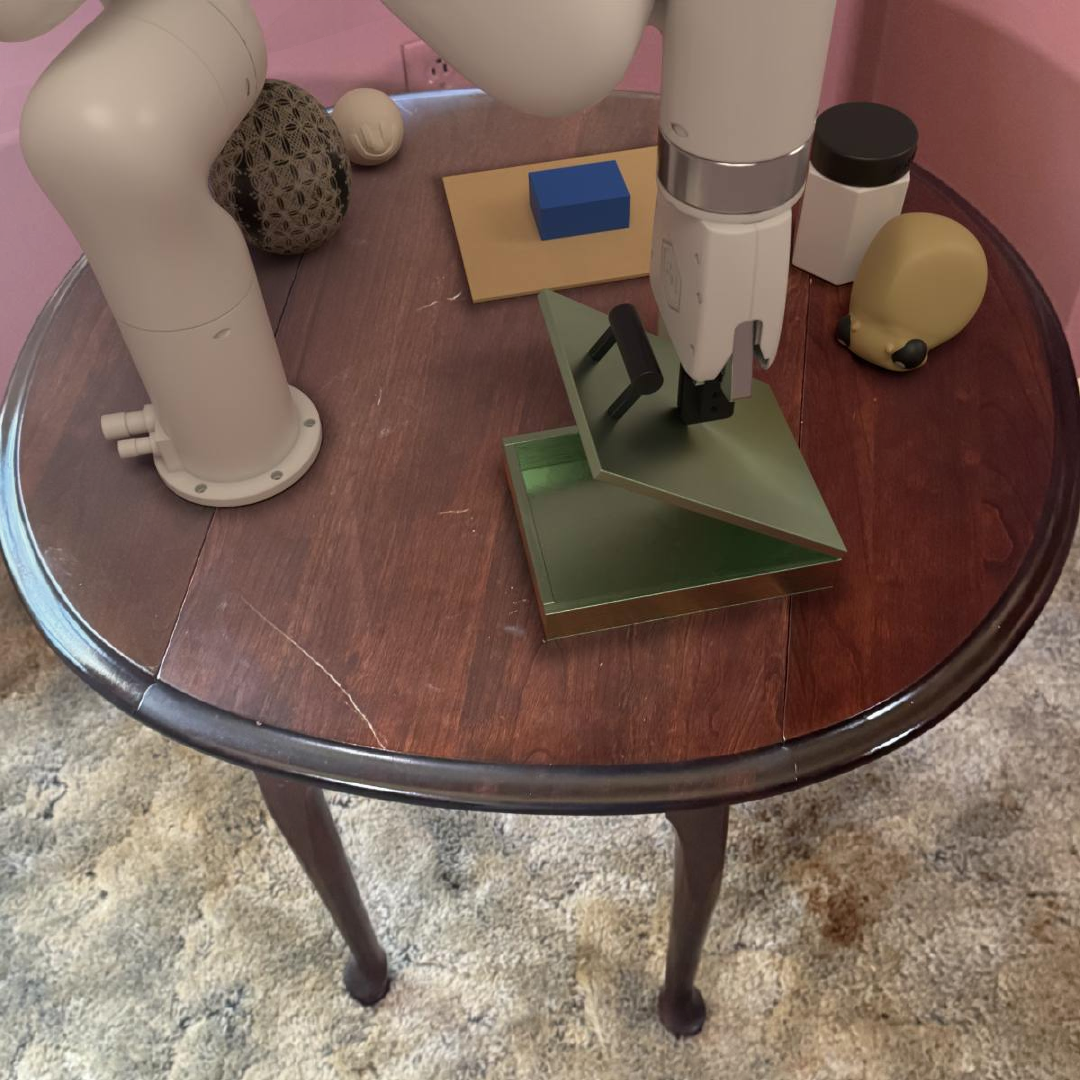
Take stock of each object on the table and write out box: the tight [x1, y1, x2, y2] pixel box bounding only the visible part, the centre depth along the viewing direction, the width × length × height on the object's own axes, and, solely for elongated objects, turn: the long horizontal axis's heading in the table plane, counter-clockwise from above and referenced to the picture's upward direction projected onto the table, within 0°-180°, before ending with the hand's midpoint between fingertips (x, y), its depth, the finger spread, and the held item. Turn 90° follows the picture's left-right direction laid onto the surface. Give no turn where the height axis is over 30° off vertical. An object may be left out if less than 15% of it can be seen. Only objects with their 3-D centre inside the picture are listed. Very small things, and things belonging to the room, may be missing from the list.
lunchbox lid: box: [537, 288, 848, 558], centre depth 69 cm, size 20×16×5 cm
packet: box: [528, 160, 630, 241], centre depth 99 cm, size 8×6×3 cm
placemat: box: [441, 145, 658, 304], centre depth 100 cm, size 22×18×1 cm
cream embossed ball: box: [330, 87, 405, 167], centre depth 105 cm, size 7×7×7 cm
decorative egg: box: [209, 78, 353, 256], centre depth 94 cm, size 12×12×15 cm
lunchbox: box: [501, 424, 842, 642], centre depth 77 cm, size 20×16×4 cm
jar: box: [791, 101, 920, 286], centre depth 92 cm, size 9×8×12 cm
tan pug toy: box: [834, 211, 989, 372], centre depth 86 cm, size 10×12×11 cm
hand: (704, 412), depth 70 cm, fingers closed
